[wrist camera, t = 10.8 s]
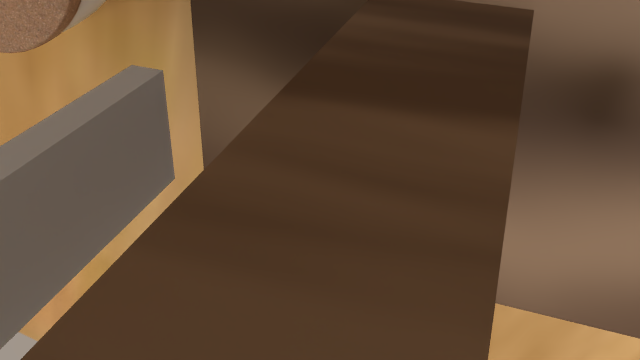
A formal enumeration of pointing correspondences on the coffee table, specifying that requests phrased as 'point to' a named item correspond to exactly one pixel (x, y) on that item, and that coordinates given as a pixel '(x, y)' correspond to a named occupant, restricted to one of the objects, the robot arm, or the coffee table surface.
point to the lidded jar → (39, 21)
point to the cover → (387, 185)
